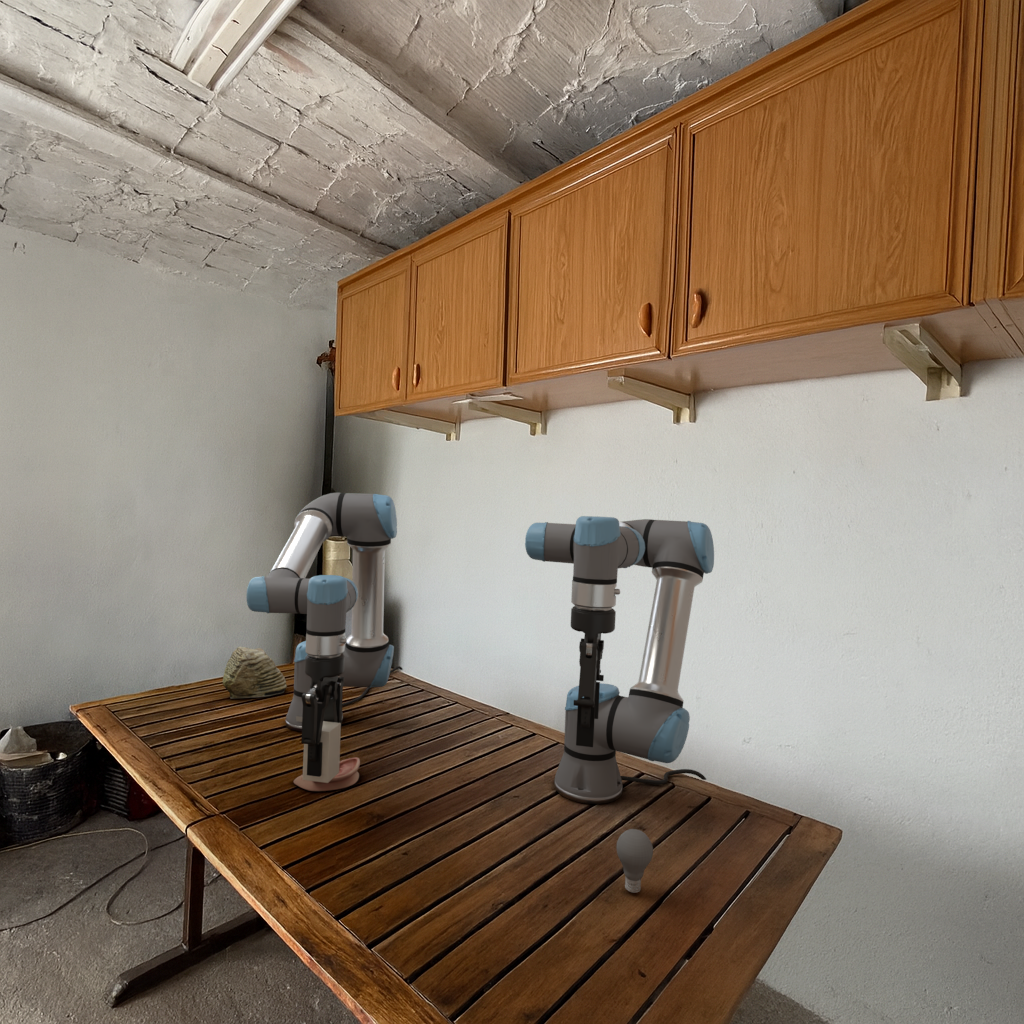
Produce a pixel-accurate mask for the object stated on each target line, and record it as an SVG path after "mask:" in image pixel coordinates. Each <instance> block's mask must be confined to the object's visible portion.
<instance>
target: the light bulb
mask: <svg viewBox="0 0 1024 1024" xmlns="http://www.w3.org/2000/svg"><path fill="white" fill-rule="evenodd" d="M615 849H616V854H617V857H618V859H619V861H620V863H621V865H622V867H623V873H624V874H623V875H624V876H625V878H624V888H625V890H627V891H628V892H630V893H634V894H635V893H639V892H640V891H641V889H642V887H641V886H642V879H643V877H644V875H645V871H646V868H647V867H648V866H649V864H650V863H651V861H652V859H653V855H654V847H653V843H652V841H651V838H649V836H648V835H647V834H646V833H645V832H643V831H642V830H641V829H636V828H629V829H627V830H625V831H623V832H622V833H621V834H620V835H619V837H618V839H617V841H616V847H615Z"/></svg>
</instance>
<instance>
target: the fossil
mask: <svg viewBox="0 0 1024 1024" xmlns="http://www.w3.org/2000/svg"><path fill="white" fill-rule="evenodd" d="M222 676H223V677H222V685H223V687H224V688H225V690H226V691H228V693H229V698H230V699H250V698H264V697H271V696H275V695H281V694H284V693H285V691H286V689H287V687H288V686H287V680H286V678H285V676H284V674H283V673H282V672H281V669H279V668H278V667H277V665H276V663H275V662H274V660H273V659H272V658H271V657H270V656H269V655H268V654H267V653H266V652H265V650H264V649H263V648H260V647H258V648H251V647H247V646H246V647H245V646H238V647H237V648H236V649H235V650H233V651H232V653H231V656H230V657H229V659H228V660H227V663H226V666H225V668H224V671H223V675H222Z"/></svg>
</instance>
